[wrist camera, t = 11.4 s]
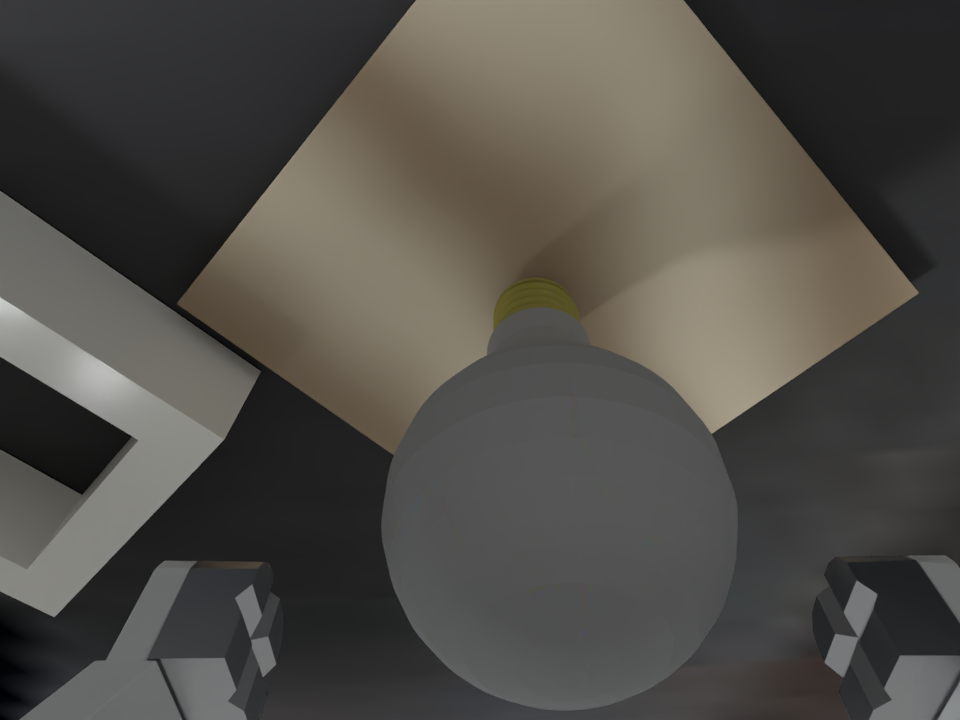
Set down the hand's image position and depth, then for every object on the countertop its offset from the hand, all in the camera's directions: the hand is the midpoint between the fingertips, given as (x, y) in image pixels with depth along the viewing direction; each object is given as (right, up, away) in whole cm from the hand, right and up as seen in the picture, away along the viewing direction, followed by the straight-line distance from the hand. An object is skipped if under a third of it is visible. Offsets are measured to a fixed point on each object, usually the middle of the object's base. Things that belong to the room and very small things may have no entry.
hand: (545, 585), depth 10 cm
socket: (-14, +3, +9) cm, 17 cm away
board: (0, +5, +7) cm, 9 cm away
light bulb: (0, +5, +7) cm, 9 cm away
